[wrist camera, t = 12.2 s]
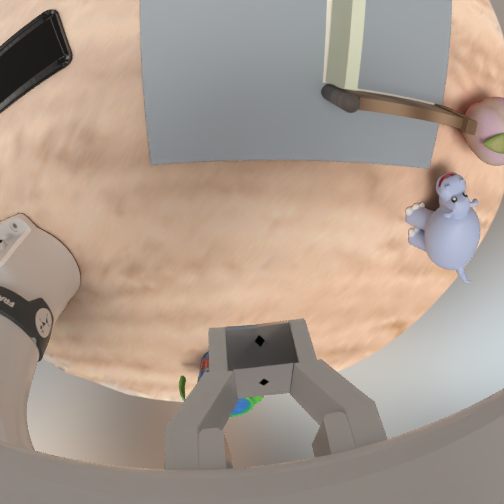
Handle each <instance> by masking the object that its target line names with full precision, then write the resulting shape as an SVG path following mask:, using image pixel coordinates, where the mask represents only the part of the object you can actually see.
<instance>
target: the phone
mask: <svg viewBox="0 0 504 504" xmlns="http://www.w3.org/2000/svg"><path fill="white" fill-rule="evenodd" d="M71 60H72V52H71V49H70V46H69V43H68V40H67V37H66V35H65V32H64V29H63V26H62V23H61V19H60V16H59V13H58V12H57V11H56V10H47V11H45V12H43V13H42V14H40V15H39V16H38V17H36V18H35V19H34V20H32V21H31V22H30V23H28V24H27V25H26V26H24V27H23V28H22V29H20V30H19V31H18V32H17V33H15V34H14V35H13V36H12V37H10V38H9V39H8V40H7V41H6V42H5V43H3V44H2V45H1V46H0V113H1V112H3V111H4V110H5V109H6V108H8V107H9V106H10V105H11V104H13V103H14V102H15V101H17V100H18V99H19V98H20V97H22V96H23V95H25V94H26V93H27V92H29V91H30V90H31V89H33V88H34V87H36V86H37V85H38V84H40V83H41V82H43V81H44V80H46V79H47V78H49V77H50V76H52V75H53V74H55V73H57V72H58V71H60V70H61V69H63V68H65V67H66V66H67V65H69V63H70V62H71Z"/></svg>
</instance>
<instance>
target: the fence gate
mask: <svg viewBox="0 0 504 504" xmlns="http://www.w3.org/2000/svg"><path fill="white" fill-rule="evenodd" d="M365 5H366V0H333V2H332V17H331V30H330V43H329V54H328V65H327V75H326V81H327V82H329V83H332V84H334V85H336V86H339V87H341V88H344V89H348V90H355V91H357V87H358V79H359V71H360V62H361V53H362V43H363V32H364V20H365Z"/></svg>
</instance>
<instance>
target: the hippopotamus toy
mask: <svg viewBox="0 0 504 504" xmlns="http://www.w3.org/2000/svg"><path fill="white" fill-rule="evenodd" d="M465 189H466V183H465V181H464V179H463V178H462V177H461V176H460V175H457V174H456V173H454V172H449V173H445V174H443V175H441V176H440V177H439V178H438V180H437V183H436V191H437V193H438V195H439V204H440V207H439V208H438V209H437V210H436V211H432V210H429V209H426V208H425V204H424V203H423V202H421V203H420V204H418V203H416V204H414V205H413V206H412V207H408V208H407V209H406V210H405V213H406V222H407V223H408V224H410V225H413V226H415V227H414V229H410V230H409V238H408V241H409V243H410V244H411V245H413V246H415V247H417V248H419V249H422V250H424V251H426V252H427V254H428V256H429V258H430V259H431V260H432V261H433V262H434V263H435V264H436V265H438V266H439V267H441V268H444V269H448V270H456V271H457V274H458V275H459V277H460V278H461V279H462V280H463V281H464V282H465V283H470V282H471V281H468V280H467V278H466V273H465V270H464V266H465V265H466V264H467V263H468V262H469V261H470V260H471V258H472V257H473V255H474V253H475V251H476V249H477V246H478V243H479V239H480V223H479V219H478V216H477V214H476V212H475V211H474V210H473V208H472V207H471V206H477V205H478V200H477V199H473V202H470V201H469V199H468V196H467V194H466V193H465Z"/></svg>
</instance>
